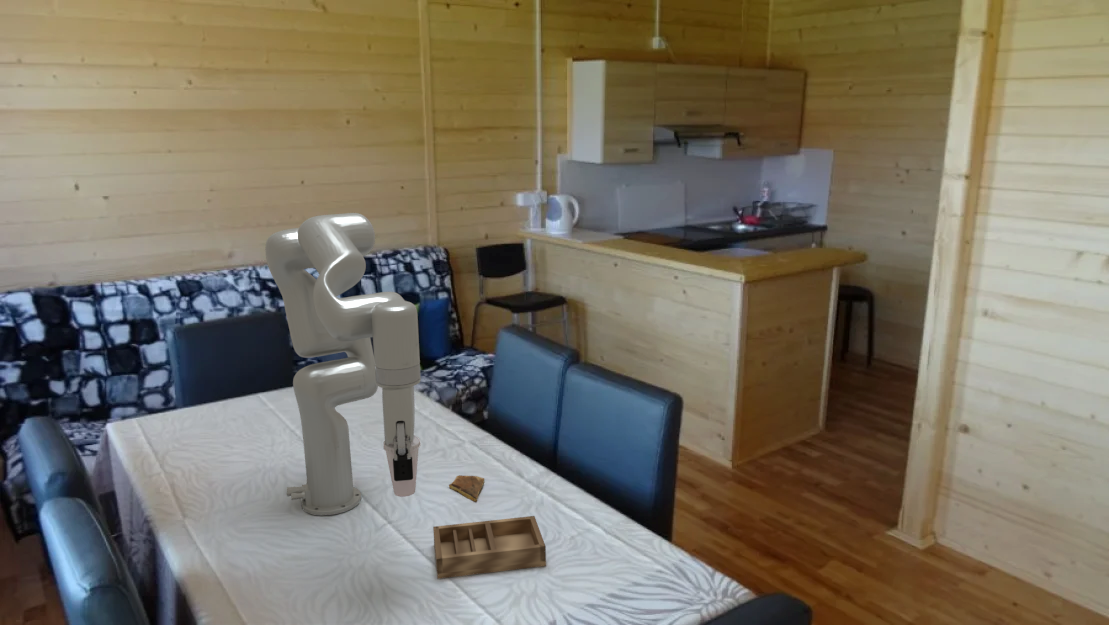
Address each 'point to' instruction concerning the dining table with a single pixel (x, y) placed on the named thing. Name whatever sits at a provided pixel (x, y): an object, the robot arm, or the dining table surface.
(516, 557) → the wooden shelf
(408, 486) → the smoothie
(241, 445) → the dining table surface
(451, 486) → the shard
